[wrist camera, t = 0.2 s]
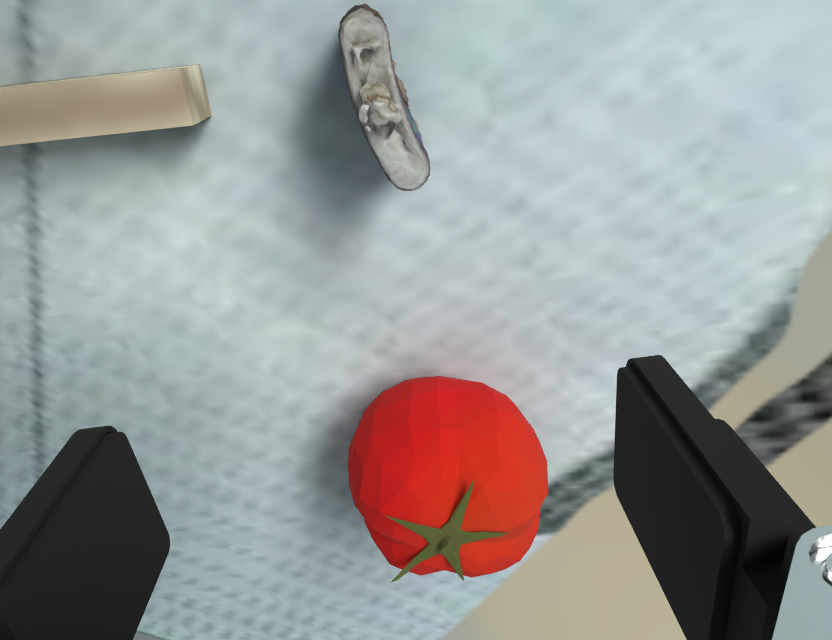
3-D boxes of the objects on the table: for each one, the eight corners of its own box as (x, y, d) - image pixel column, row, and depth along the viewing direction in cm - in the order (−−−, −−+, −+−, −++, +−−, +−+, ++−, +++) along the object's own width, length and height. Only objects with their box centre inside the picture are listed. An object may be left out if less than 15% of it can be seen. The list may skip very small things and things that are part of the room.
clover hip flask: (427, 151, 39) (439, 193, 30) (385, 166, 39) (384, 211, 30) (379, 1, 35) (375, -7, 26) (333, 19, 35) (312, 17, 26)
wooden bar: (-157, 102, 36) (-216, 111, 33) (199, 64, 36) (179, 69, 33) (-132, 152, 38) (-186, 166, 34) (212, 115, 38) (193, 125, 34)
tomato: (318, 416, 48) (295, 550, 36) (439, 306, 44) (458, 415, 32) (450, 512, 54) (468, 657, 41) (568, 422, 50) (627, 553, 37)
